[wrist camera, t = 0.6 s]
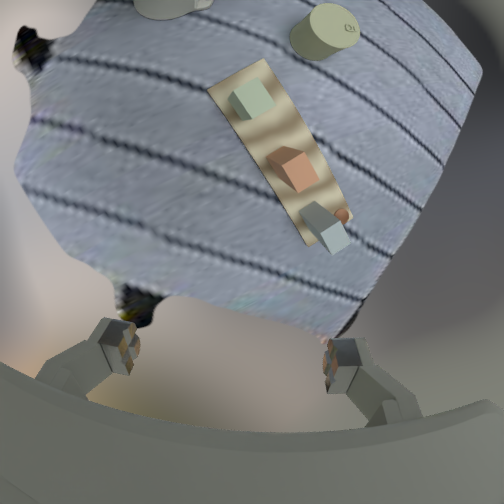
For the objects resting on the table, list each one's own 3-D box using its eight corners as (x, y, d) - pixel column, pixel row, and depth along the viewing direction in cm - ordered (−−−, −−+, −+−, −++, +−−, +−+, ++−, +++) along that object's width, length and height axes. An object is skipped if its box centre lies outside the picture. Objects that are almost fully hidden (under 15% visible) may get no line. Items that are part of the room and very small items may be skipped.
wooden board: (207, 90, 45) (207, 89, 43) (262, 60, 43) (263, 57, 41) (306, 244, 61) (309, 248, 59) (350, 215, 60) (354, 218, 58)
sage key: (227, 99, 44) (233, 90, 34) (246, 87, 44) (257, 76, 33) (242, 121, 46) (252, 119, 36) (260, 109, 46) (276, 105, 35)
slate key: (298, 211, 56) (320, 233, 45) (314, 200, 55) (340, 220, 44) (309, 230, 58) (332, 255, 47) (325, 220, 57) (350, 243, 47)
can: (334, 63, 45) (363, 52, 34) (290, 58, 44) (312, 43, 33) (331, 25, 41) (359, 8, 30) (288, 19, 40) (308, -3, 29)
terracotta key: (265, 156, 50) (281, 165, 39) (283, 145, 49) (304, 151, 39) (279, 178, 52) (298, 193, 41) (296, 167, 52) (319, 179, 41)
